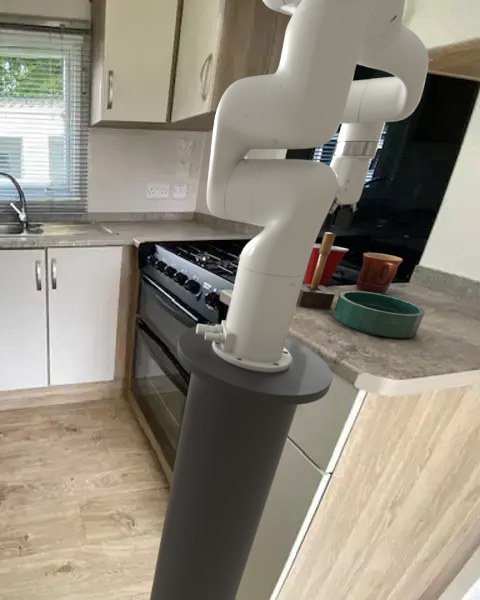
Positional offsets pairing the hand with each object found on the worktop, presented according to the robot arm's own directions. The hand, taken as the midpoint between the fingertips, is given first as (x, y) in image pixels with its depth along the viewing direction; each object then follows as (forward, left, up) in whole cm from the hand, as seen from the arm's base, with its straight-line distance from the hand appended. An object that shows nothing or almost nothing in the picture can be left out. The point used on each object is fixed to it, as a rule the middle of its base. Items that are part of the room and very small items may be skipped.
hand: (331, 229), depth 84 cm
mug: (+22, +16, -19) cm, 33 cm away
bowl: (+9, -11, -19) cm, 24 cm away
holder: (0, 0, -19) cm, 19 cm away
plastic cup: (+8, +19, -19) cm, 28 cm away
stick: (0, 0, -19) cm, 19 cm away
